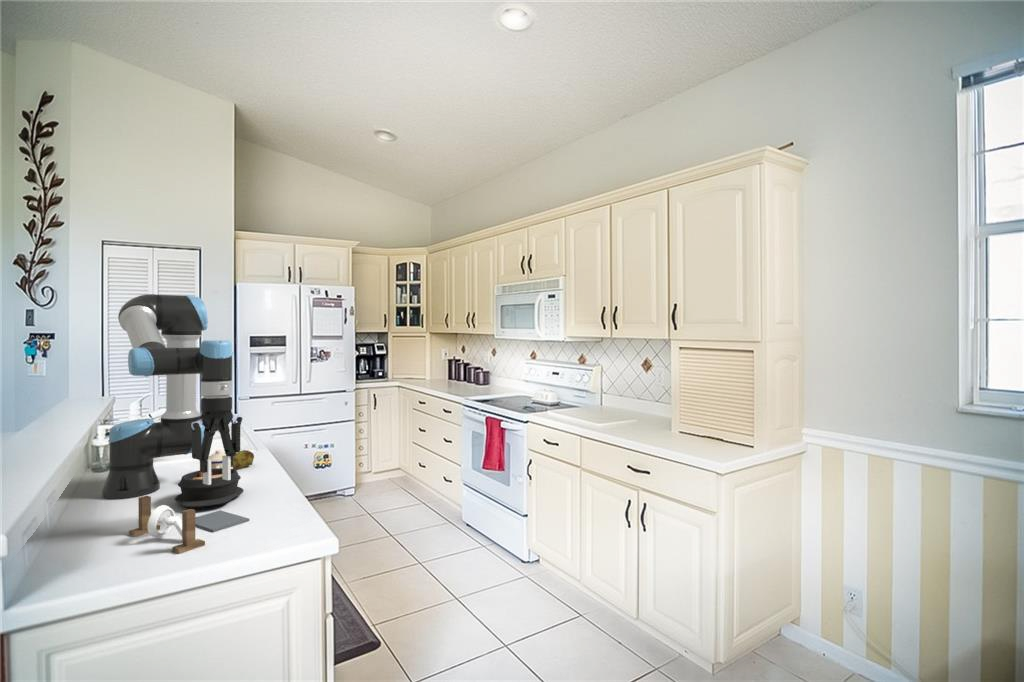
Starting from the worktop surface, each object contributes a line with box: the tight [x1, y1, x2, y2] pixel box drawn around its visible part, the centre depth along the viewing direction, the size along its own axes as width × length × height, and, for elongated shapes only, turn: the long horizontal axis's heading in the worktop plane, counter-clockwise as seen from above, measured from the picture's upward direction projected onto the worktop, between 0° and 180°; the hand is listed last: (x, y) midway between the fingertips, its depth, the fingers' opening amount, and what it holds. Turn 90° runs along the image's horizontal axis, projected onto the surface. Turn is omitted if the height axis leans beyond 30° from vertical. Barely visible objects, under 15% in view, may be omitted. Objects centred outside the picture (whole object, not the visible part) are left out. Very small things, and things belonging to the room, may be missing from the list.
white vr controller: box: [148, 504, 182, 538], centre depth 132 cm, size 8×12×7 cm
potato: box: [233, 449, 255, 471], centre depth 198 cm, size 8×13×8 cm, turn 117°
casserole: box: [174, 468, 245, 508], centre depth 165 cm, size 25×19×8 cm
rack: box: [128, 495, 206, 555], centre depth 132 cm, size 24×6×9 cm, turn 59°
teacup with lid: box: [208, 449, 234, 469], centre depth 182 cm, size 12×9×12 cm
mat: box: [195, 509, 250, 533], centre depth 145 cm, size 14×10×1 cm
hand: (217, 481), depth 145 cm, fingers open, 5 cm apart
